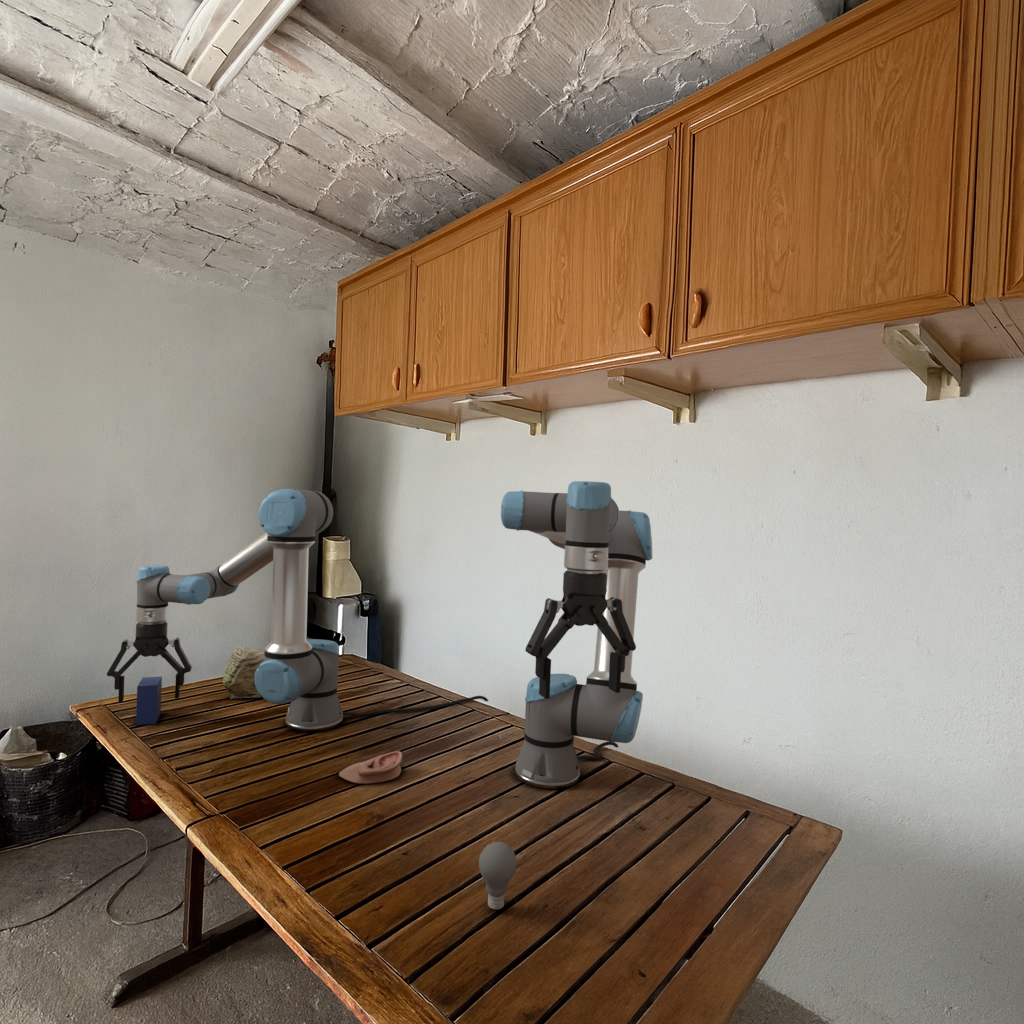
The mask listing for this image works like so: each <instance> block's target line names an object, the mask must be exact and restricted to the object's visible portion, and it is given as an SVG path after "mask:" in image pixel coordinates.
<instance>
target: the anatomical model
mask: <svg viewBox="0 0 1024 1024" xmlns="http://www.w3.org/2000/svg"><path fill="white" fill-rule="evenodd" d="M402 761H403V754H402V751H399V750H397V751H391V752H387V753H384V754H381V755H377V756H375V757H373V758H370V759H367V760H365V761H361V762H355V763H353V764H351V765H349V766H347V767H345V768H343V769H342V770H341V771H340V772H339V773H338V776H339V777H340V778H342V779H344V780H346V781H347V782H350V783H352V784H353V783H354V784H375V783H383V782H387V781H391V780H393V779H396V778H398V777H399V776H400V774H401V772H402V767H401V763H402Z"/></svg>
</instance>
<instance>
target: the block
mask: <svg viewBox="0 0 1024 1024" xmlns="http://www.w3.org/2000/svg"><path fill="white" fill-rule="evenodd" d="M162 685H163V676H145V677H141V680H140V681H139V683H138V684H137V686H136V708H135V711H136V712H135V726H145V725H156V724H157V723H158V721H159V718H160V716H161V713H162Z"/></svg>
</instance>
